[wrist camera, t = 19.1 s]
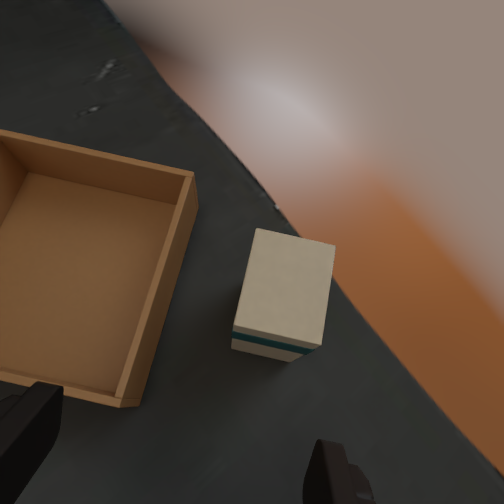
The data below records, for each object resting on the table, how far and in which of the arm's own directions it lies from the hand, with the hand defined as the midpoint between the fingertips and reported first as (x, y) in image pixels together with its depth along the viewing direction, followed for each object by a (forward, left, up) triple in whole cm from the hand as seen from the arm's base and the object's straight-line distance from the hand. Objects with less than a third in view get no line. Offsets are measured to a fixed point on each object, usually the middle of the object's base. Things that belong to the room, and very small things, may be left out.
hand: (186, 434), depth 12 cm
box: (-9, +11, -16) cm, 22 cm away
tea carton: (+5, +6, -16) cm, 18 cm away
